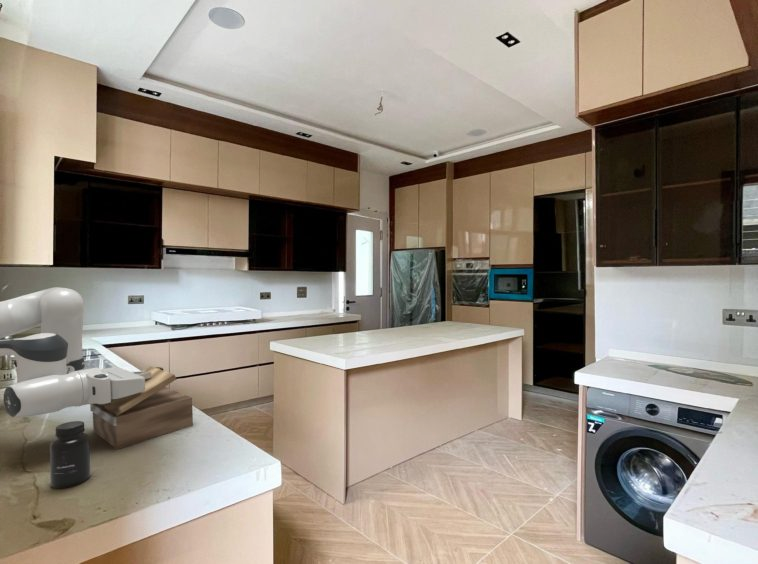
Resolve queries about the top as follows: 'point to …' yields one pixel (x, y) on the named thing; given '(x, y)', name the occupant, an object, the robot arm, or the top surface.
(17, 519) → the top surface
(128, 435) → the wooden box
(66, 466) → the supplement bottle
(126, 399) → the light wood square board
